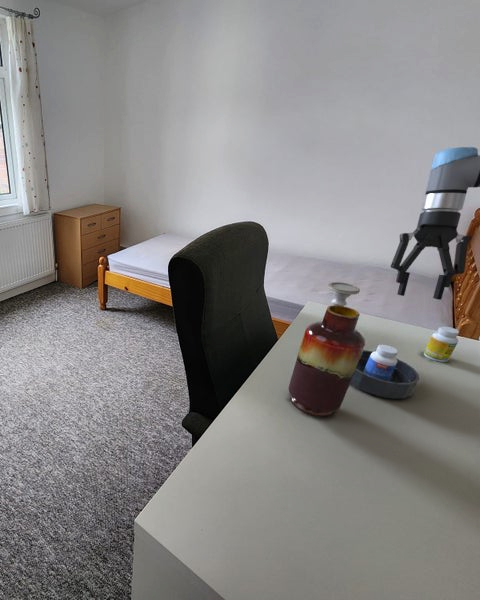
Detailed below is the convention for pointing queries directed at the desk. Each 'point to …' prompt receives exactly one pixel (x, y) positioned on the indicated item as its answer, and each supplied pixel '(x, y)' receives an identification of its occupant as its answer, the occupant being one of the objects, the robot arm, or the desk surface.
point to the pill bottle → (381, 362)
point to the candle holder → (342, 292)
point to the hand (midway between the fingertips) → (418, 296)
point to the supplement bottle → (442, 344)
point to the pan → (394, 388)
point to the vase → (326, 362)
